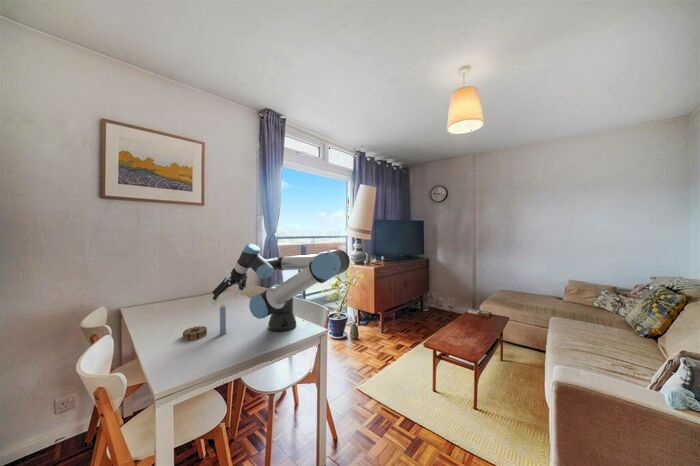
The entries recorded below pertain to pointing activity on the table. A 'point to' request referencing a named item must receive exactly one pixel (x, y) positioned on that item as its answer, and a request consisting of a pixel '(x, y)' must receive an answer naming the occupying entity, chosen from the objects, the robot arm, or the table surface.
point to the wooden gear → (194, 333)
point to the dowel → (222, 319)
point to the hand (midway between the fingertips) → (223, 300)
